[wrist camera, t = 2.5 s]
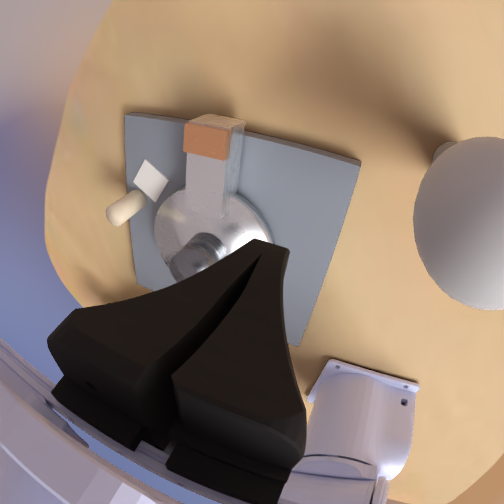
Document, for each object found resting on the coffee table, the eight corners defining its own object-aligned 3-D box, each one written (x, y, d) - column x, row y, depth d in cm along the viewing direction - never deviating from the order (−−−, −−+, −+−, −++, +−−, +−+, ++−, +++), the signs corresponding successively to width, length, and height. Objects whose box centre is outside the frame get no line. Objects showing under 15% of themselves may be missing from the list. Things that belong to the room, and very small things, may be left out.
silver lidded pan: (264, 308, 25) (247, 344, 22) (163, 270, 26) (137, 298, 23) (302, 133, 16) (284, 151, 14) (162, 106, 18) (122, 120, 15)
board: (361, 161, 17) (357, 185, 14) (301, 338, 27) (288, 374, 24) (133, 112, 21) (94, 125, 18) (142, 277, 30) (118, 303, 27)
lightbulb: (431, 85, 13) (508, 118, 5) (512, 148, 13) (615, 250, 4) (381, 172, 17) (379, 296, 9) (459, 225, 17) (500, 368, 8)
